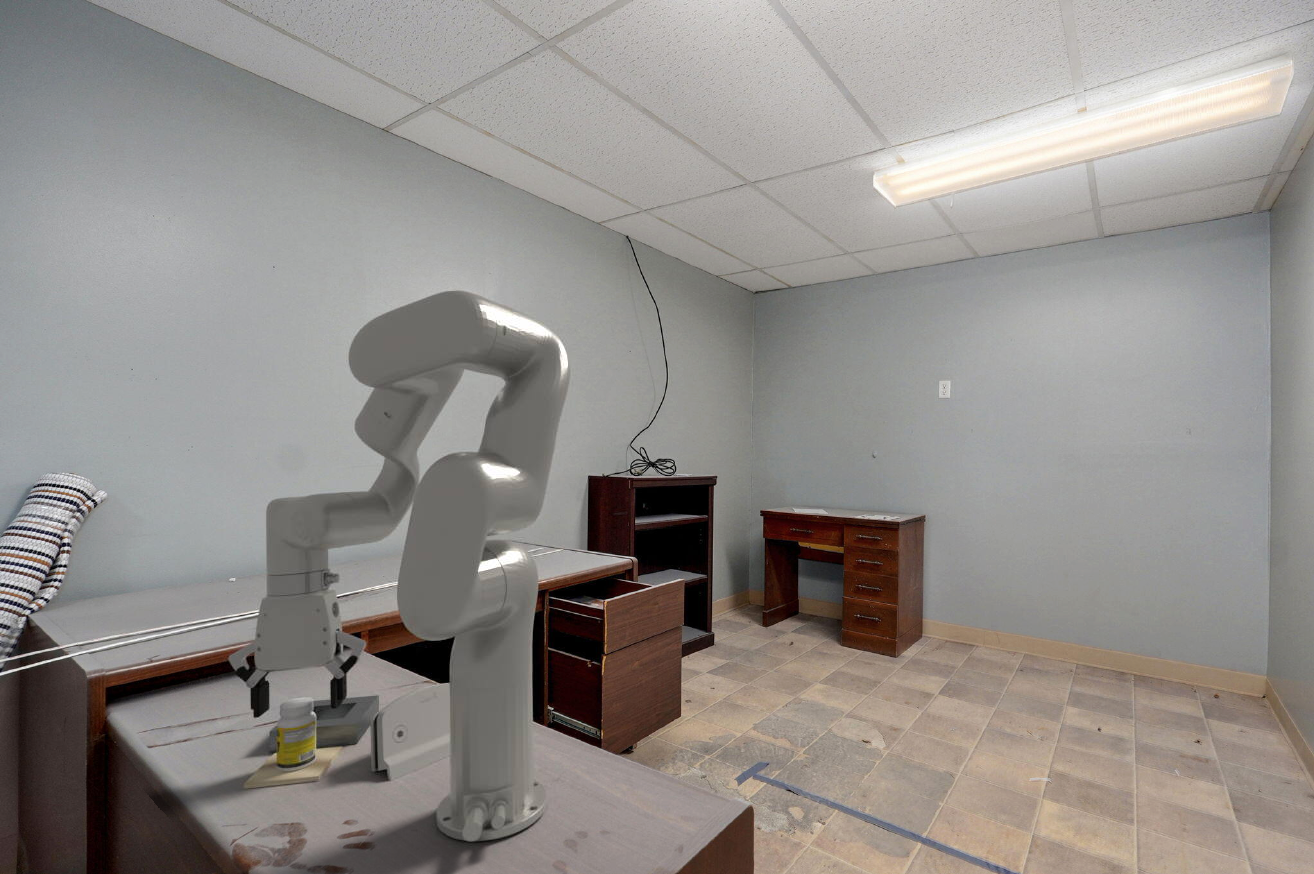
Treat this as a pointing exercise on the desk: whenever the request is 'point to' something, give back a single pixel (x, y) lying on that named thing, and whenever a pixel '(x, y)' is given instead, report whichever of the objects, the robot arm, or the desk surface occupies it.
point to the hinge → (411, 731)
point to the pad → (273, 776)
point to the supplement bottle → (296, 735)
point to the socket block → (339, 721)
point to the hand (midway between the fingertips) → (299, 709)
